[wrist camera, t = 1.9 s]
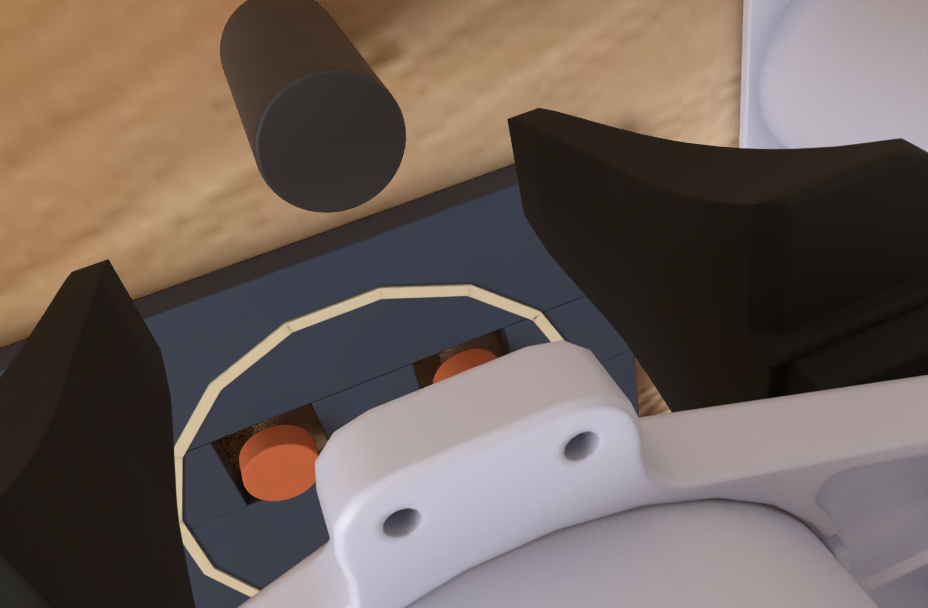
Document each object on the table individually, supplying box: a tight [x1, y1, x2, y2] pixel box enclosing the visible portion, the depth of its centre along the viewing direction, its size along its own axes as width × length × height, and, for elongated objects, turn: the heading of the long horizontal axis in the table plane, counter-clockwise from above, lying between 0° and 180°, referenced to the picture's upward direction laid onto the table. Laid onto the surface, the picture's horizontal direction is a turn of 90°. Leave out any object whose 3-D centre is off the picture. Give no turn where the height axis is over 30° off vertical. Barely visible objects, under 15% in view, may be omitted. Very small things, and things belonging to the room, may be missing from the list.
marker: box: [220, 0, 406, 213], centre depth 19 cm, size 3×3×7 cm
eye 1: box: [239, 425, 319, 501], centre depth 28 cm, size 3×3×1 cm
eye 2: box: [433, 349, 497, 384], centre depth 29 cm, size 3×3×1 cm
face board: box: [0, 165, 639, 608], centre depth 30 cm, size 20×18×1 cm
